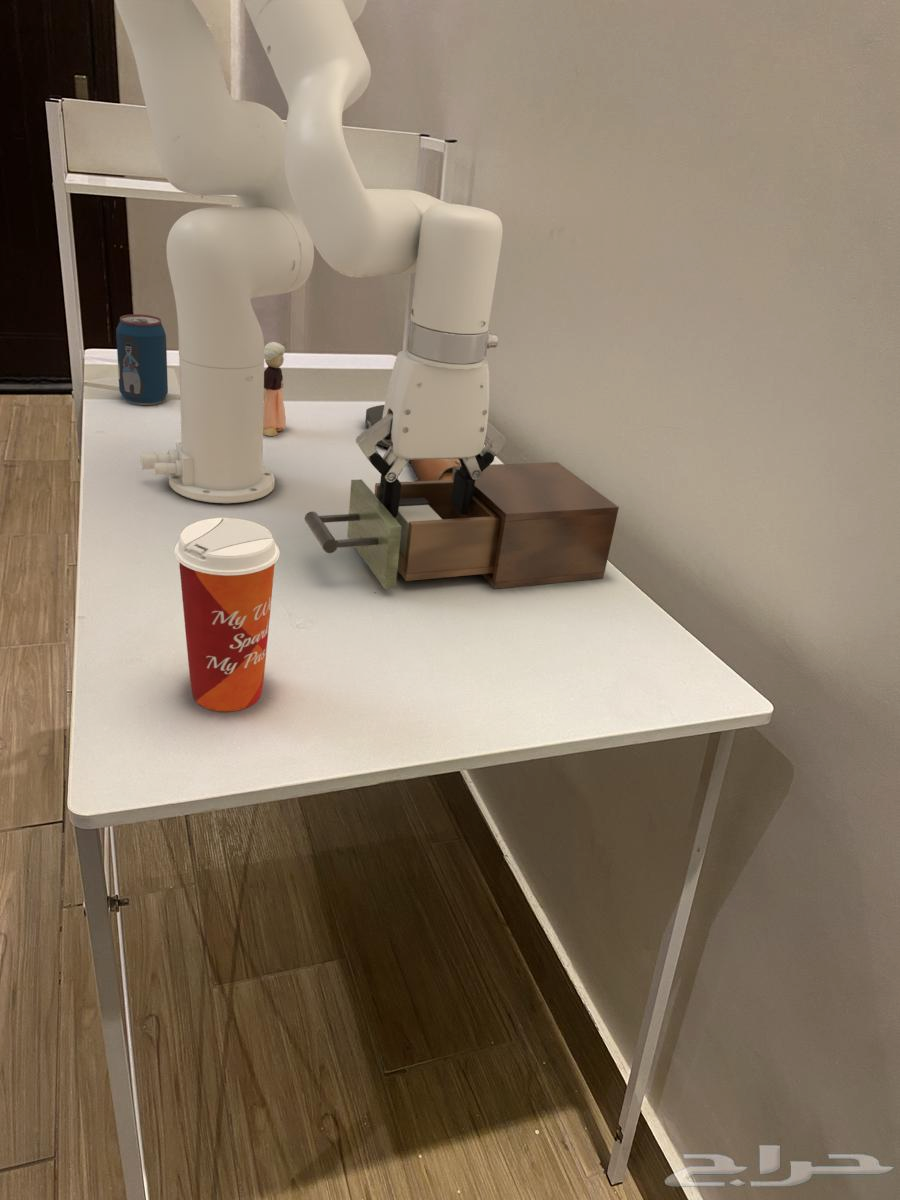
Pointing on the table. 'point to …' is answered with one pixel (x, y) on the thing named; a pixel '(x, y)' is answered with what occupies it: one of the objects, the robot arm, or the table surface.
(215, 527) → the paper cup
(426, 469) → the sunglasses case
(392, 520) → the drawer
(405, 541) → the eraser
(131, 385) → the soda can
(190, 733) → the table surface
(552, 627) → the table surface
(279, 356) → the grandmother figurine
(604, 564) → the cabinet
